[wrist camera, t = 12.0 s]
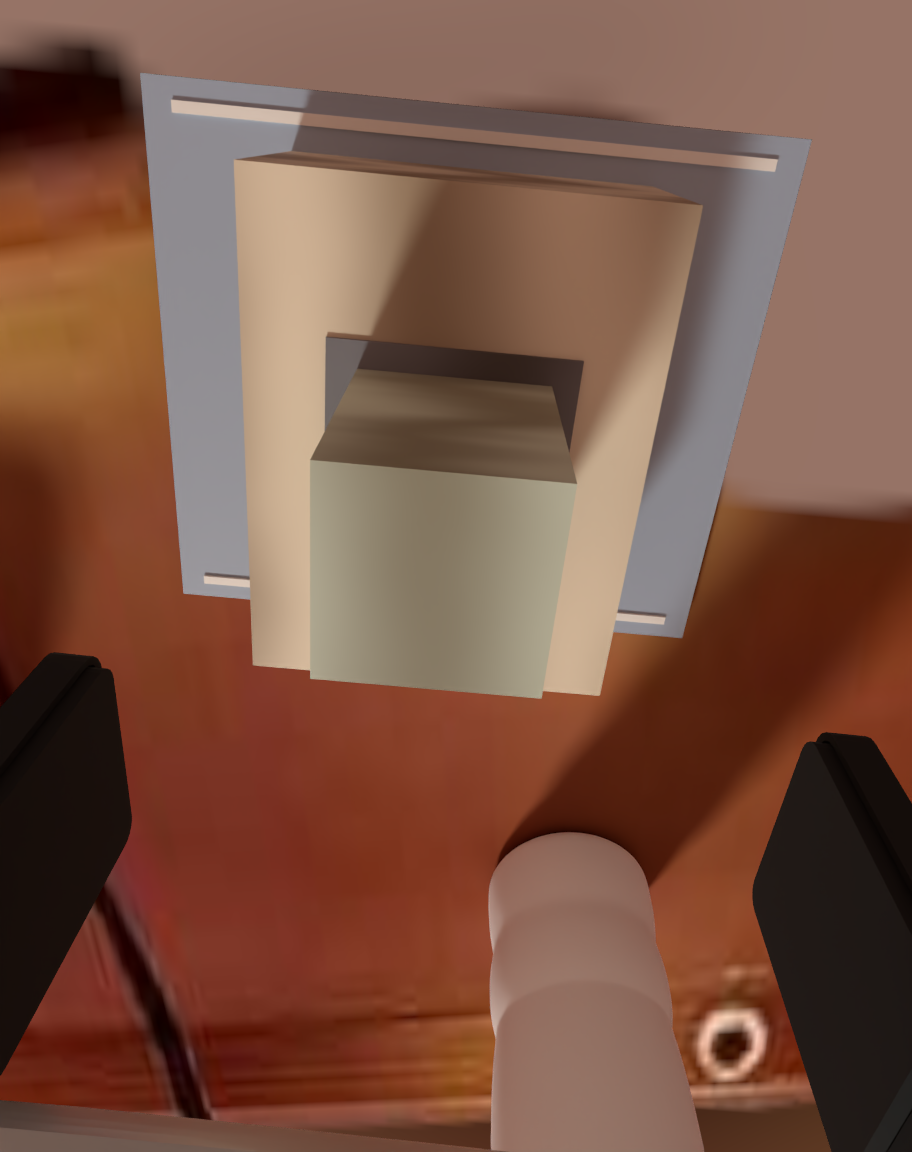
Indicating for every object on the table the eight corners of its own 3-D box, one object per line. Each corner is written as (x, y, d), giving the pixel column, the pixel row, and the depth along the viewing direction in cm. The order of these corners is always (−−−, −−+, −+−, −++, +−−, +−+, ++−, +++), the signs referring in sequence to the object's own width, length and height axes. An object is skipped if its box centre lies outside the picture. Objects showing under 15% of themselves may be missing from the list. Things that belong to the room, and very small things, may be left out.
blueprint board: (799, 138, 23) (813, 139, 22) (676, 623, 31) (682, 639, 30) (153, 75, 23) (138, 72, 22) (192, 580, 31) (182, 594, 30)
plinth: (652, 186, 23) (704, 205, 18) (578, 592, 29) (599, 697, 24) (291, 151, 23) (232, 159, 17) (294, 566, 29) (252, 667, 24)
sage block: (552, 386, 20) (576, 483, 14) (527, 558, 22) (541, 698, 16) (357, 368, 19) (310, 459, 14) (352, 543, 22) (309, 678, 16)
